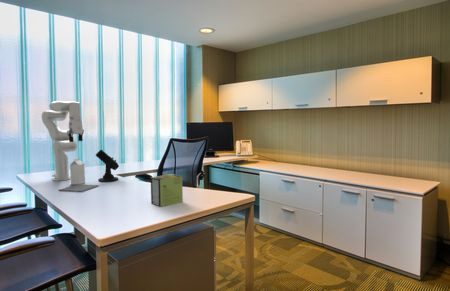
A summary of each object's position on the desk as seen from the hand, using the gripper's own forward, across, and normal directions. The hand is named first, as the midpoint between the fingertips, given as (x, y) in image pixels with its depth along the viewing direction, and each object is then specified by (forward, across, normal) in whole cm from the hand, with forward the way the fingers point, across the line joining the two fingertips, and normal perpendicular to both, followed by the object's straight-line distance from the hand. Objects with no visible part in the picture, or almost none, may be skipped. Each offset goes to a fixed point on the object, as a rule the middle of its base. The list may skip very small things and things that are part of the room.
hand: (76, 141), depth 223 cm
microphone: (+32, +16, -15) cm, 39 cm away
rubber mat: (+32, -14, -12) cm, 37 cm away
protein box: (+32, -34, -87) cm, 99 cm away
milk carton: (+32, 0, 0) cm, 33 cm away
